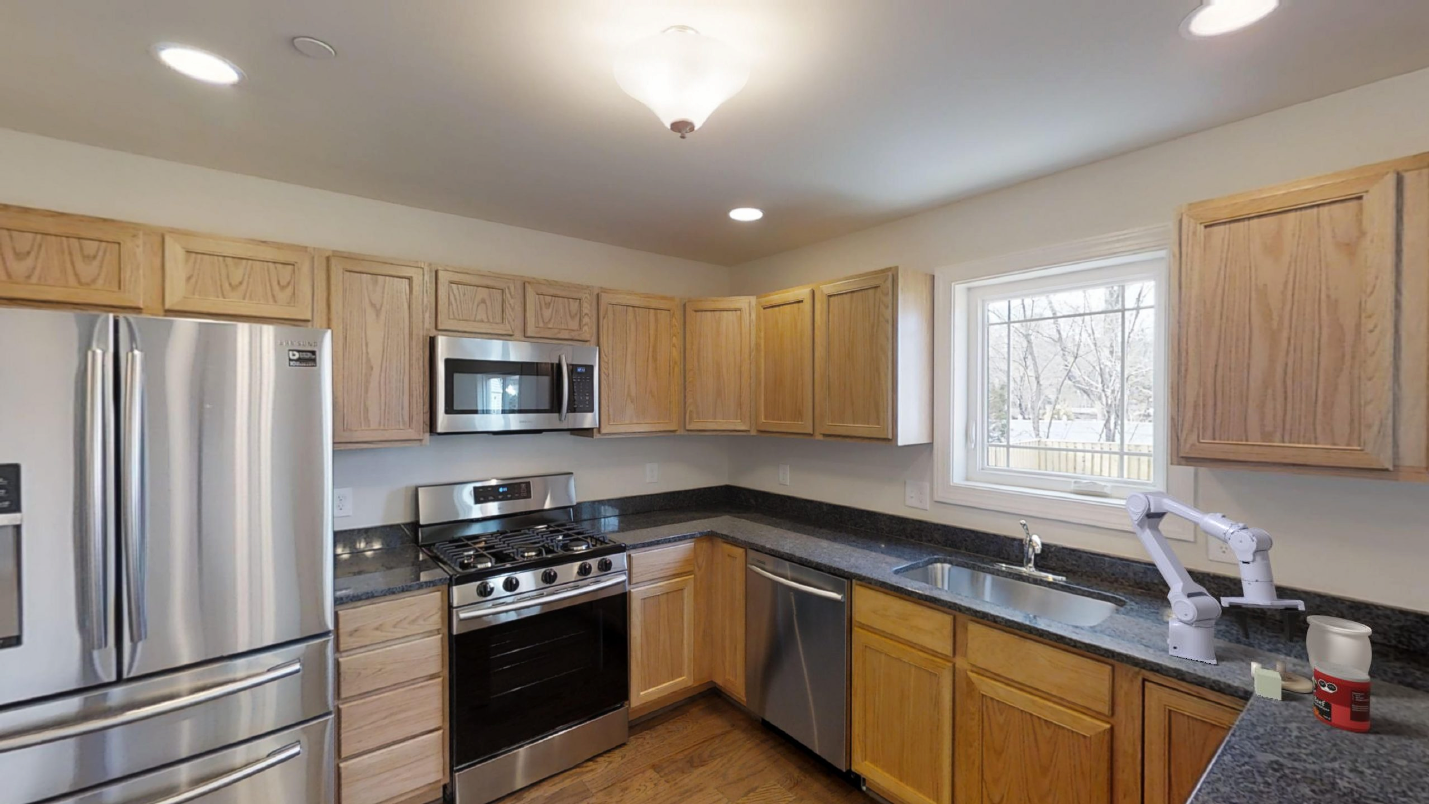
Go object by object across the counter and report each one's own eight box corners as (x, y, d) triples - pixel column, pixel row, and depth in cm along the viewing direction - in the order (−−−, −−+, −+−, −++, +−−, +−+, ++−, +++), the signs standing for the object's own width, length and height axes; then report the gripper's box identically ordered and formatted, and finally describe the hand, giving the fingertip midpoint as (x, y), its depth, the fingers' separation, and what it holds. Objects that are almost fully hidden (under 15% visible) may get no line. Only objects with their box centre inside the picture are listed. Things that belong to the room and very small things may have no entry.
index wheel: (1267, 685, 135) (1267, 661, 135) (1262, 672, 142) (1262, 650, 142) (1315, 696, 130) (1316, 672, 130) (1308, 682, 137) (1308, 659, 137)
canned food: (1310, 708, 126) (1311, 658, 126) (1364, 721, 121) (1365, 669, 121) (1316, 723, 120) (1317, 670, 120) (1374, 738, 115) (1374, 683, 115)
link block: (1256, 695, 131) (1256, 673, 131) (1254, 688, 134) (1254, 667, 134) (1281, 701, 129) (1281, 678, 129) (1278, 694, 132) (1278, 672, 132)
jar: (1351, 700, 129) (1352, 633, 129) (1294, 679, 139) (1295, 616, 139) (1382, 694, 132) (1383, 629, 132) (1324, 673, 142) (1325, 612, 142)
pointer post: (1251, 678, 139) (1251, 663, 139) (1250, 675, 141) (1250, 661, 141) (1261, 680, 138) (1262, 666, 138) (1260, 677, 140) (1260, 663, 140)
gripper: (1222, 581, 138) (1232, 641, 136) (1304, 583, 131) (1317, 646, 129) (1215, 577, 144) (1224, 634, 142) (1293, 579, 137) (1304, 639, 135)
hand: (1268, 639), depth 136 cm, fingers open, 7 cm apart
